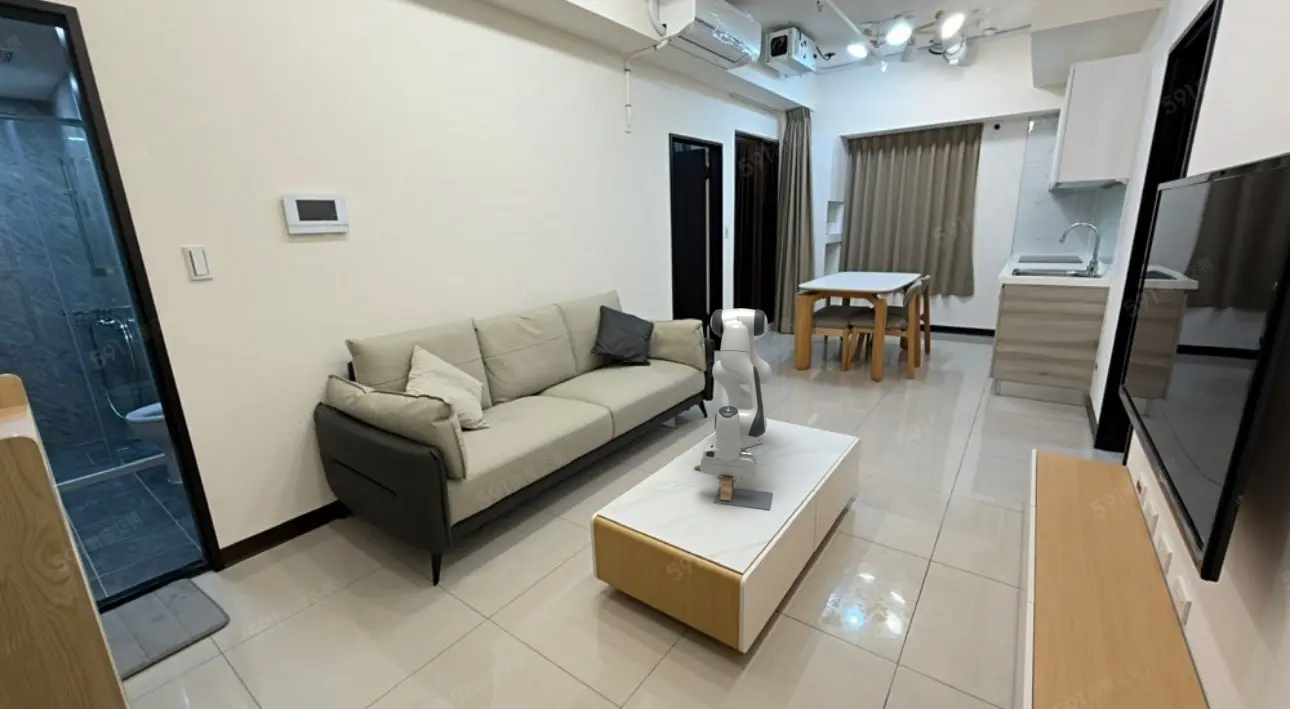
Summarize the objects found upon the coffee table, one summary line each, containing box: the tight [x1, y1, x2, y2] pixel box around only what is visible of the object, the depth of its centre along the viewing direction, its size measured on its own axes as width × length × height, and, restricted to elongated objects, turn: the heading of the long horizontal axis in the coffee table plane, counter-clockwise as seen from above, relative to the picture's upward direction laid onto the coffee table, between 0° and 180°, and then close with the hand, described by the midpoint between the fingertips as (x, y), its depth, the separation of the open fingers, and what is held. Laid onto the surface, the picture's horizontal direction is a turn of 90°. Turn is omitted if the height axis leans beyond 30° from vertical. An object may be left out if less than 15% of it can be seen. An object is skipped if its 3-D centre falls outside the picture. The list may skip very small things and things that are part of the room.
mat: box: [713, 485, 774, 511], centre depth 195 cm, size 12×20×1 cm, turn 72°
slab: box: [720, 475, 735, 500], centre depth 196 cm, size 10×4×8 cm, turn 162°
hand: (727, 484), depth 196 cm, fingers closed on slab, 3 cm apart
